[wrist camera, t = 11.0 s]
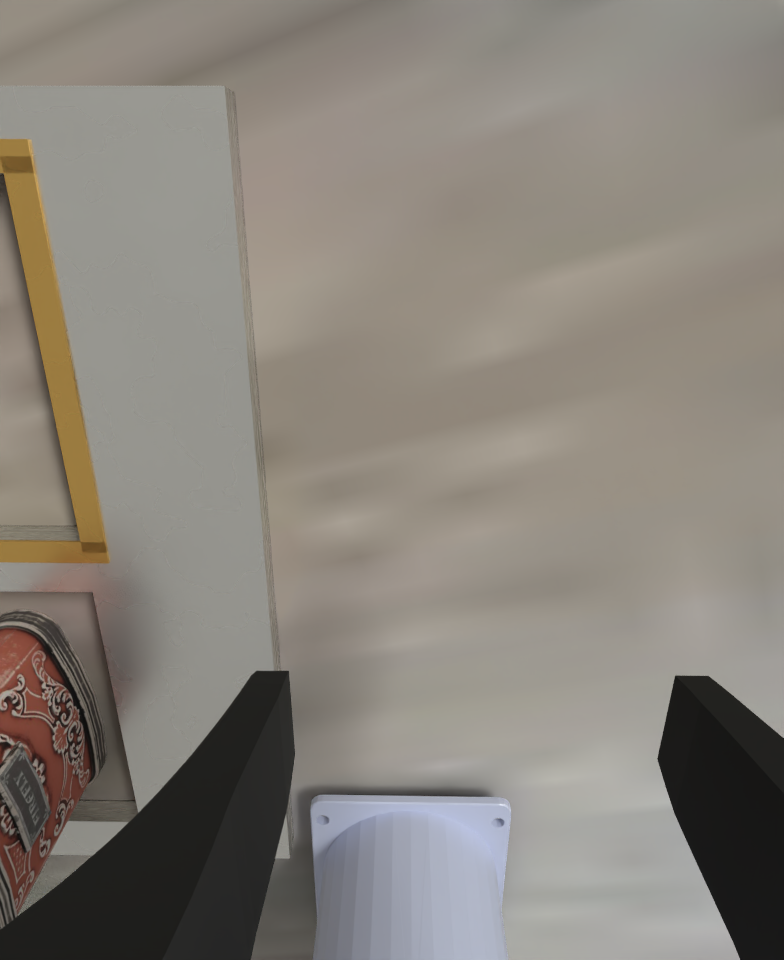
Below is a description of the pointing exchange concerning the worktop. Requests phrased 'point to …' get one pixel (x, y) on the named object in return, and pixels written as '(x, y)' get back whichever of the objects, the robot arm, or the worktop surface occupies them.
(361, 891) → the robot arm
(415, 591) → the worktop surface
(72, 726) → the lighter
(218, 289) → the rail plate
